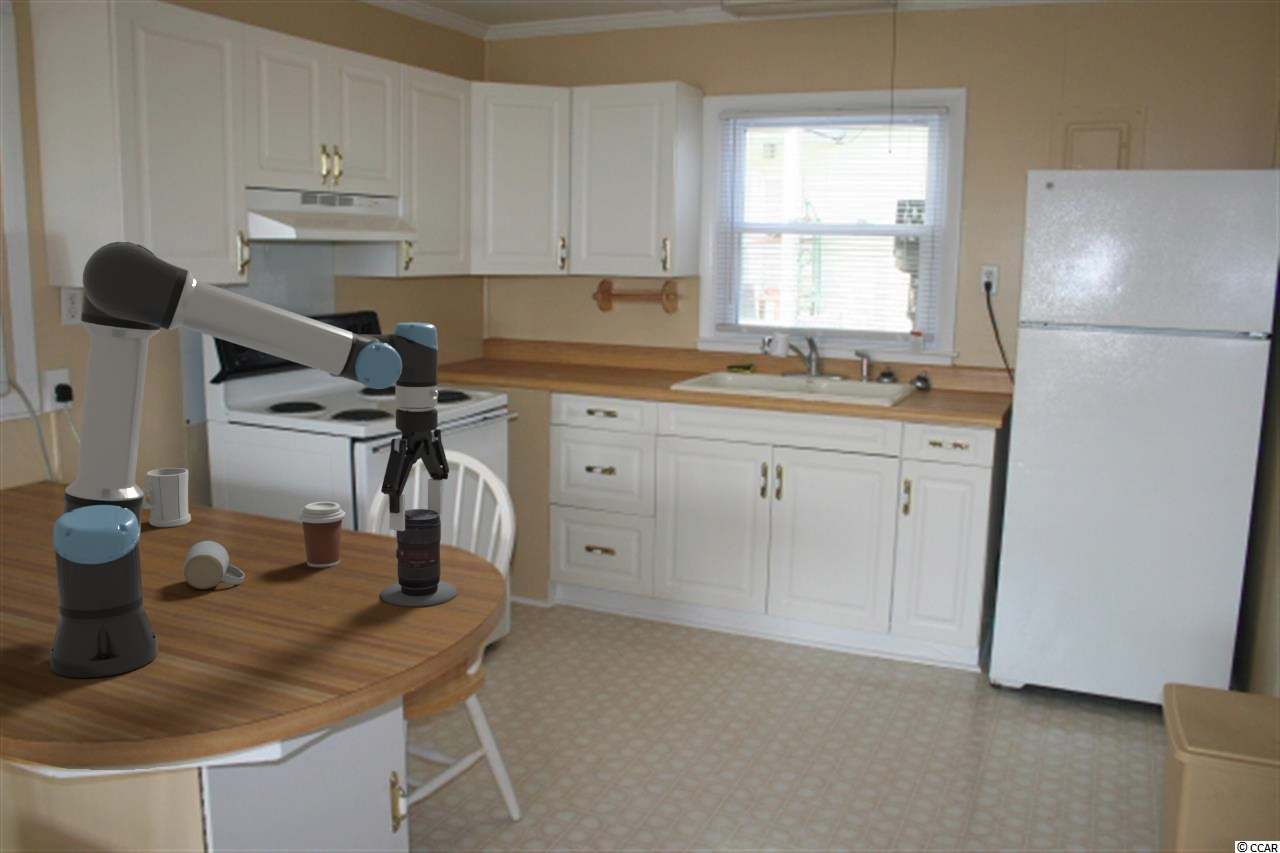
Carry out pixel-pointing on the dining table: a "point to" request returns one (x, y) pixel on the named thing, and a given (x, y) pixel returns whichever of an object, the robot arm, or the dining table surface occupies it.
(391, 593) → the pad
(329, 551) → the coffee cup
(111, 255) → the robot arm
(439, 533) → the camera lens
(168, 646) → the dining table surface
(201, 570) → the ceramic mug
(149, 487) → the cup
